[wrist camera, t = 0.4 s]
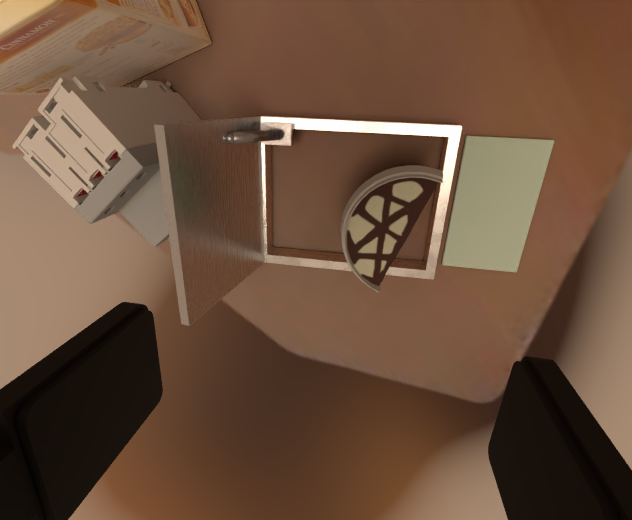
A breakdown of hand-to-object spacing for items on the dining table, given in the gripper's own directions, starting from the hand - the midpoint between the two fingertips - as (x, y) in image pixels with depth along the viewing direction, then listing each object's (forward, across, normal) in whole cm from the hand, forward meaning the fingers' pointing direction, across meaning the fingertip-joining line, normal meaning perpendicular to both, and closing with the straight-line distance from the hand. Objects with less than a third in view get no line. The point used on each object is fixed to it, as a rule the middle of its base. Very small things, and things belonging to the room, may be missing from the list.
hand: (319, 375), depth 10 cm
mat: (+33, -13, +2) cm, 36 cm away
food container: (+33, -1, +2) cm, 33 cm away
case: (+33, +3, +2) cm, 33 cm away
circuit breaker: (+33, +20, -1) cm, 39 cm away
